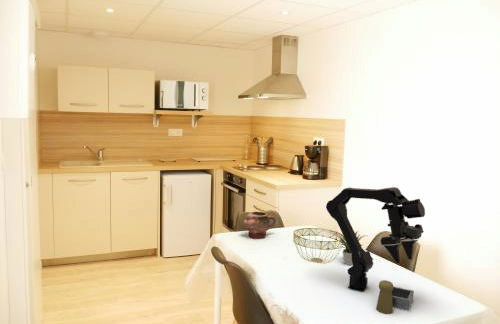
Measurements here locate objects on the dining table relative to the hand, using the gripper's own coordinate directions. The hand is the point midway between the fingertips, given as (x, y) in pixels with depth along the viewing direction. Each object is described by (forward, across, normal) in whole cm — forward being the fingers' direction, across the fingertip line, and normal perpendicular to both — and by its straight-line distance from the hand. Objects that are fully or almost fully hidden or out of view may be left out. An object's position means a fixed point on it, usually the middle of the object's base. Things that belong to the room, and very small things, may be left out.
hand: (404, 261), depth 157 cm
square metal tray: (+16, +1, +7) cm, 17 cm away
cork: (+17, -8, +7) cm, 20 cm away
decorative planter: (-14, +16, +98) cm, 100 cm away
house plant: (+4, +23, +41) cm, 47 cm away
